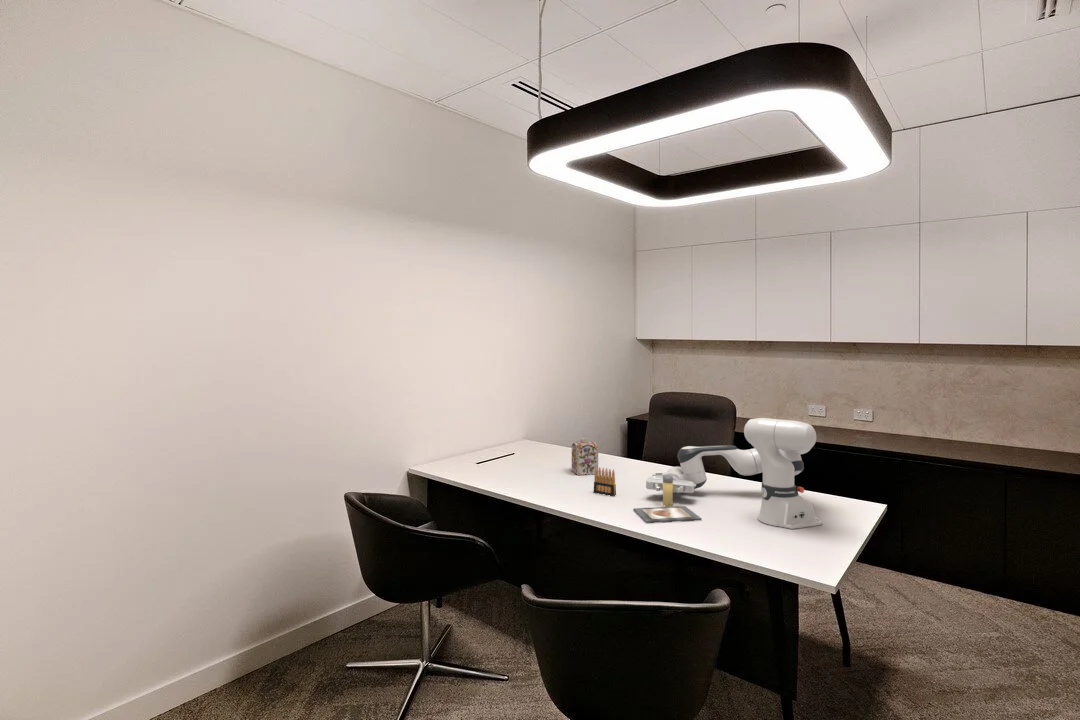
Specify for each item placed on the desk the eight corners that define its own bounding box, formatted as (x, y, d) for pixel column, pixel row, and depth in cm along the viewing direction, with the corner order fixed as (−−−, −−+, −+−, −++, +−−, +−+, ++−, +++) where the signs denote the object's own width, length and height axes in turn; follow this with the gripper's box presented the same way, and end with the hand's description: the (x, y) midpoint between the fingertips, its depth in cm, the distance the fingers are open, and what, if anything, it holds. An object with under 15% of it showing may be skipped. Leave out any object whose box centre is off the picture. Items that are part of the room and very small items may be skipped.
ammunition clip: (616, 495, 246) (616, 469, 245) (614, 496, 244) (614, 469, 244) (595, 491, 252) (595, 465, 252) (593, 492, 251) (593, 466, 250)
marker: (670, 503, 234) (670, 475, 233) (674, 506, 230) (674, 477, 229) (661, 503, 233) (661, 475, 233) (664, 506, 229) (664, 478, 229)
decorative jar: (576, 475, 282) (576, 441, 281) (571, 470, 293) (570, 437, 293) (599, 474, 284) (599, 440, 284) (592, 469, 296) (592, 436, 295)
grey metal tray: (684, 507, 227) (684, 505, 227) (701, 520, 211) (701, 517, 211) (633, 510, 224) (633, 507, 224) (646, 523, 208) (646, 520, 208)
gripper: (696, 491, 239) (693, 500, 226) (649, 487, 247) (643, 495, 234) (696, 477, 239) (693, 485, 226) (649, 473, 247) (643, 480, 234)
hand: (667, 490), depth 230 cm, fingers open, 7 cm apart
